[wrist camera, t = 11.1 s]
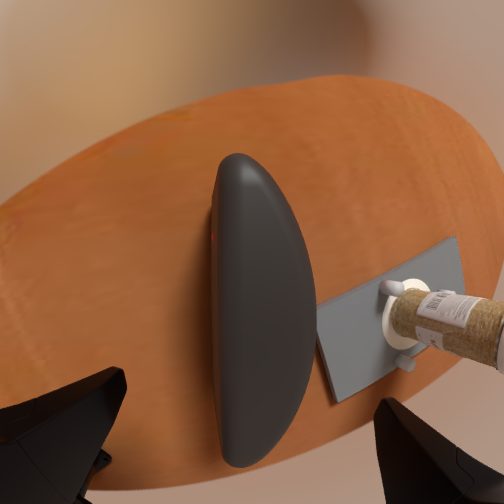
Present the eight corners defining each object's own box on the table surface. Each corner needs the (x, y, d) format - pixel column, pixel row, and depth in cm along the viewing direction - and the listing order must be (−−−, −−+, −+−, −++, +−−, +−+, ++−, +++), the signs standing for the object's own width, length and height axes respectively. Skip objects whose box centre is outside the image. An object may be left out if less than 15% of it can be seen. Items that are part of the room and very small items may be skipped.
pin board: (333, 397, 22) (348, 413, 19) (306, 310, 21) (322, 318, 18) (461, 312, 25) (479, 316, 22) (449, 236, 24) (469, 235, 21)
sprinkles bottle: (388, 342, 22) (512, 393, 8) (388, 291, 21) (527, 316, 8) (424, 328, 22) (539, 362, 9) (424, 282, 22) (549, 295, 9)
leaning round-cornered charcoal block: (268, 396, 21) (308, 469, 12) (212, 399, 20) (223, 480, 11) (272, 192, 21) (324, 151, 12) (210, 190, 20) (218, 141, 11)
